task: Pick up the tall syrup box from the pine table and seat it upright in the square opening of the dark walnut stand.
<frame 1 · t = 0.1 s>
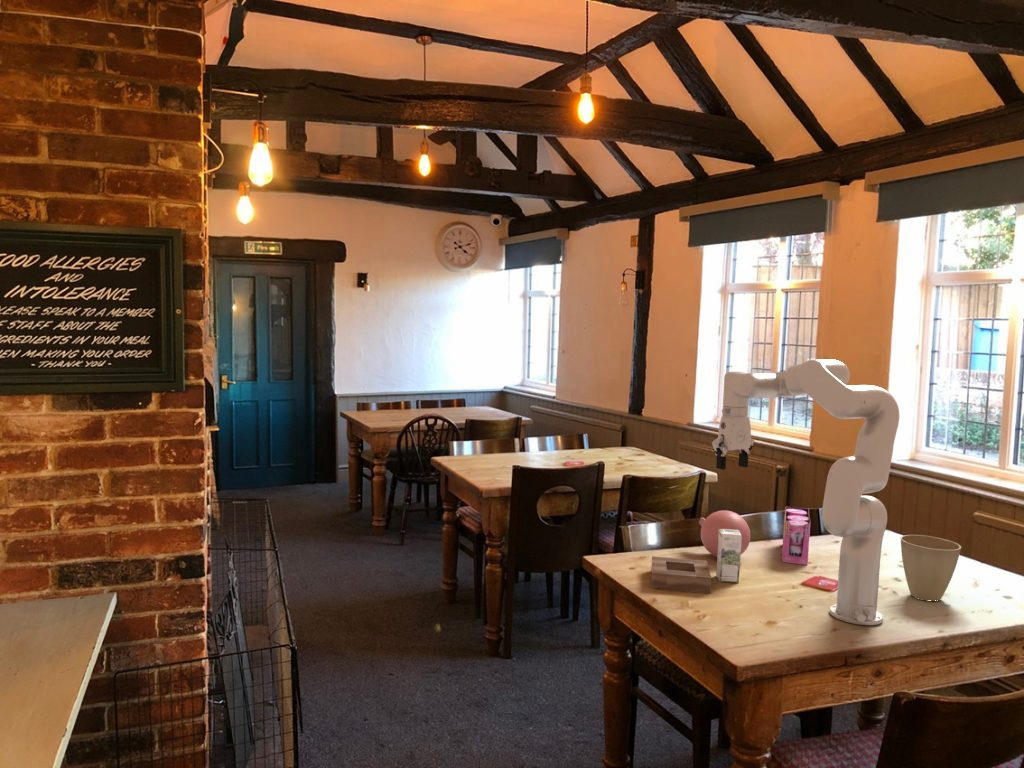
hand: (732, 467, 235), 31 cm above the table, tool pointing down, fingers open, 9 cm apart
syrup box: (727, 580, 226), on the table
balloon: (719, 556, 249), on the table
walnut stand: (679, 581, 222), on the table
gum box: (794, 555, 254), on the table
plant pot: (926, 598, 215), on the table
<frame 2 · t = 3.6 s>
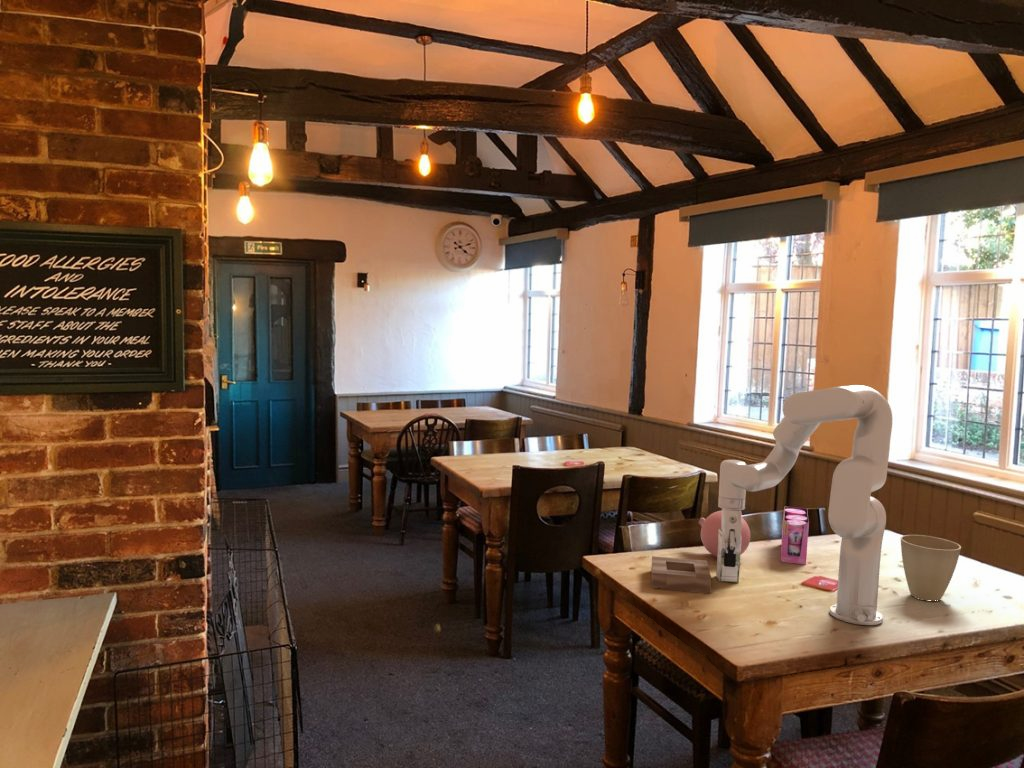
hand: (728, 562, 225), 5 cm above the table, tool pointing down, fingers closed on syrup box, 6 cm apart
syrup box: (727, 580, 226), on the table, touching gripper
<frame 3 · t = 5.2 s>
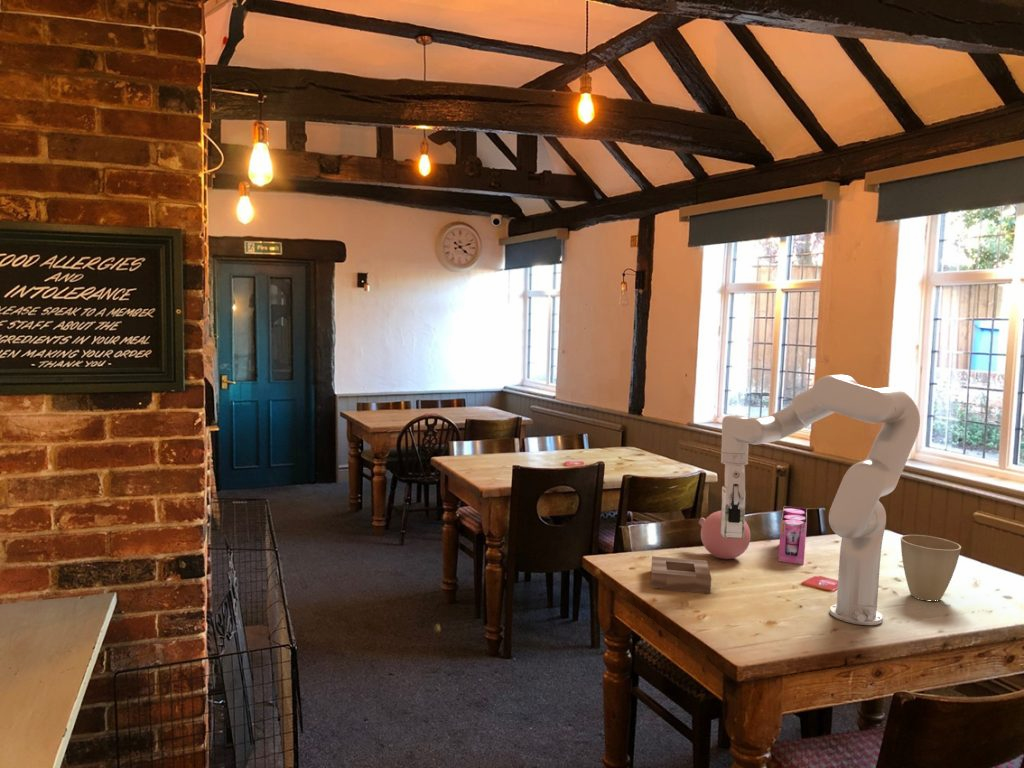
hand: (732, 519, 224), 18 cm above the table, tool pointing down, fingers closed on syrup box, 6 cm apart
syrup box: (732, 537, 224), point 13 cm above the table, touching gripper
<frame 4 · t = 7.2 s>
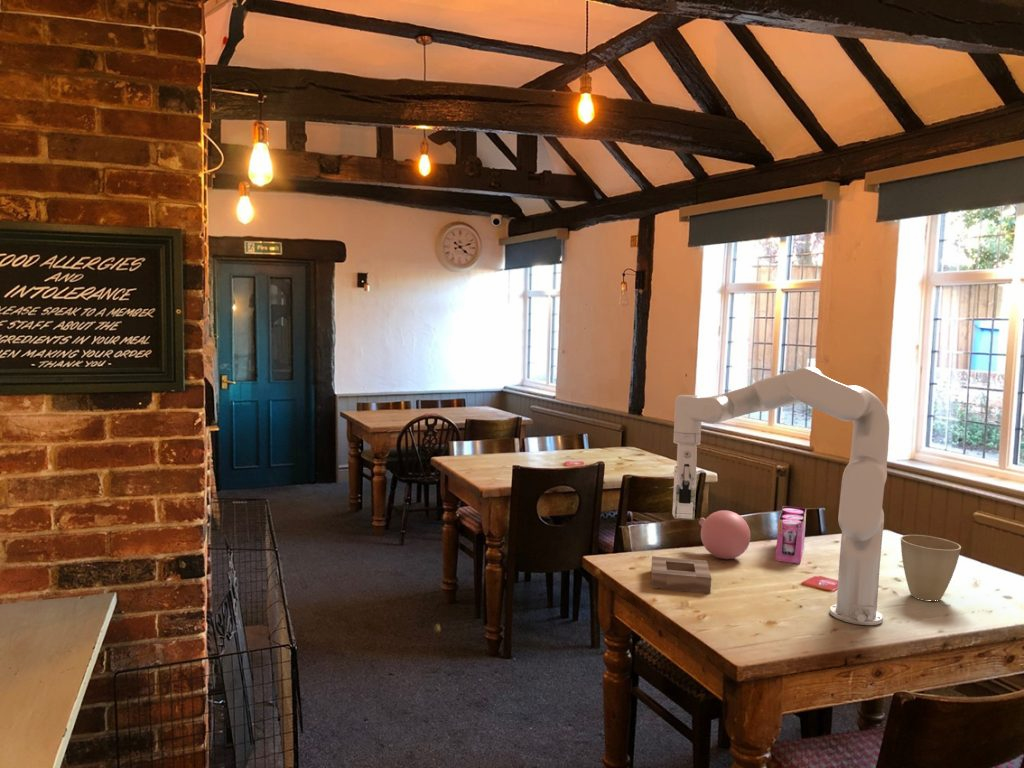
hand: (684, 499, 220), 24 cm above the table, tool pointing down, fingers closed on syrup box, 6 cm apart
syrup box: (683, 518, 221), point 19 cm above the table, touching gripper
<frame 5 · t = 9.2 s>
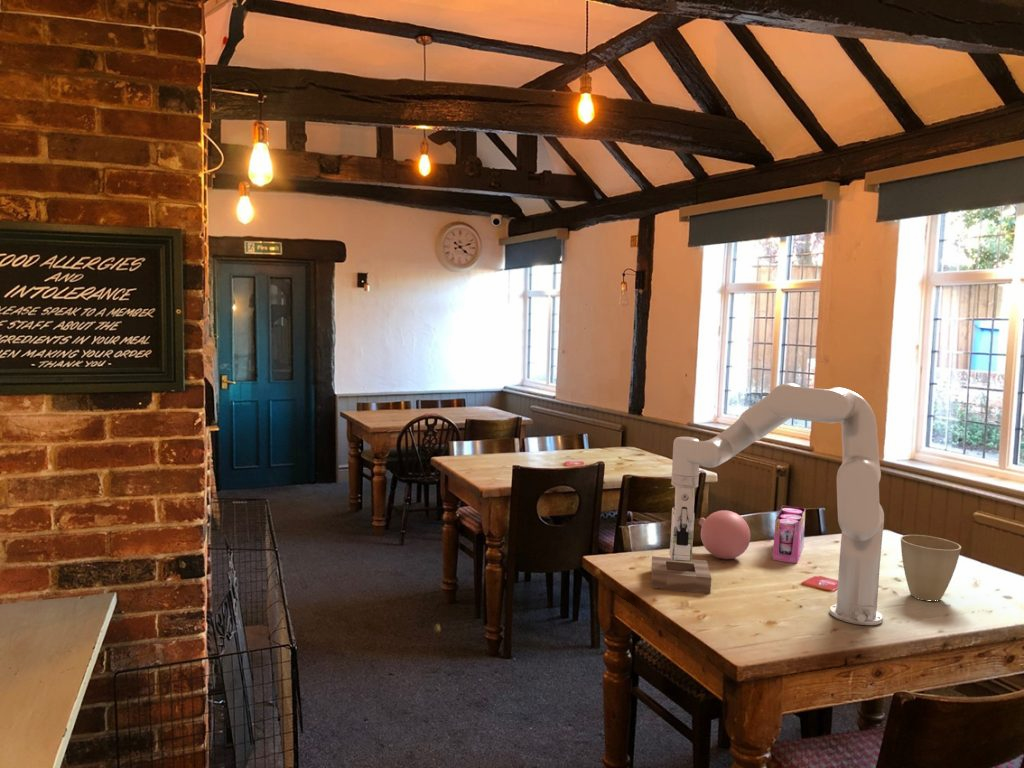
hand: (681, 541, 221), 12 cm above the table, tool pointing down, fingers closed on syrup box, 6 cm apart
syrup box: (680, 559, 222), point 7 cm above the table, touching gripper
when the fingers open (6 cm above the table, at t = 11.1 s): syrup box drops 1 cm, resting in walnut stand.
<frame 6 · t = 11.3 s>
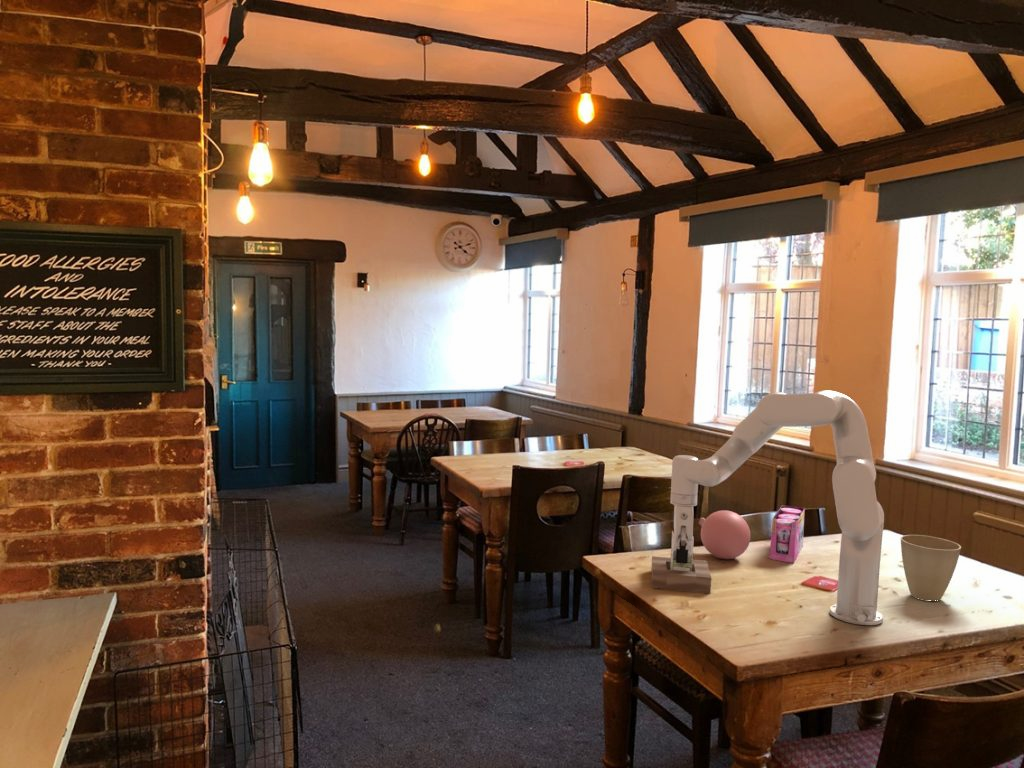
hand: (680, 558, 221), 7 cm above the table, tool pointing down, fingers open, 8 cm apart
syrup box: (680, 582, 222), resting in walnut stand
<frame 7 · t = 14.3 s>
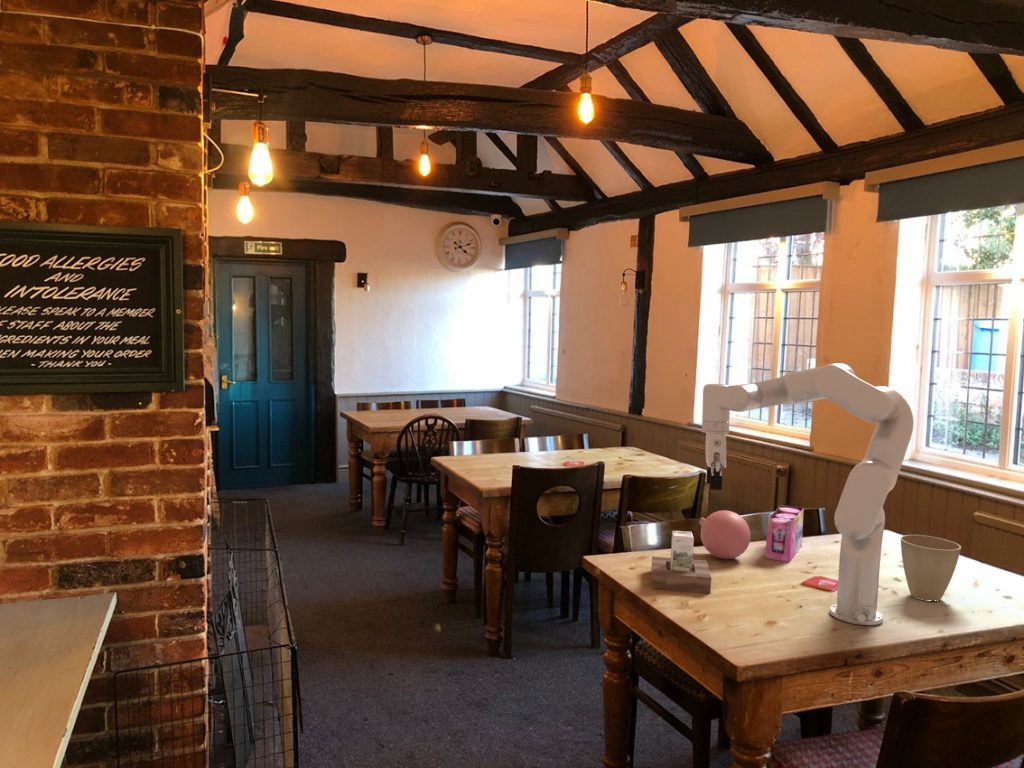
hand: (713, 486, 220), 28 cm above the table, tool pointing down, fingers open, 9 cm apart
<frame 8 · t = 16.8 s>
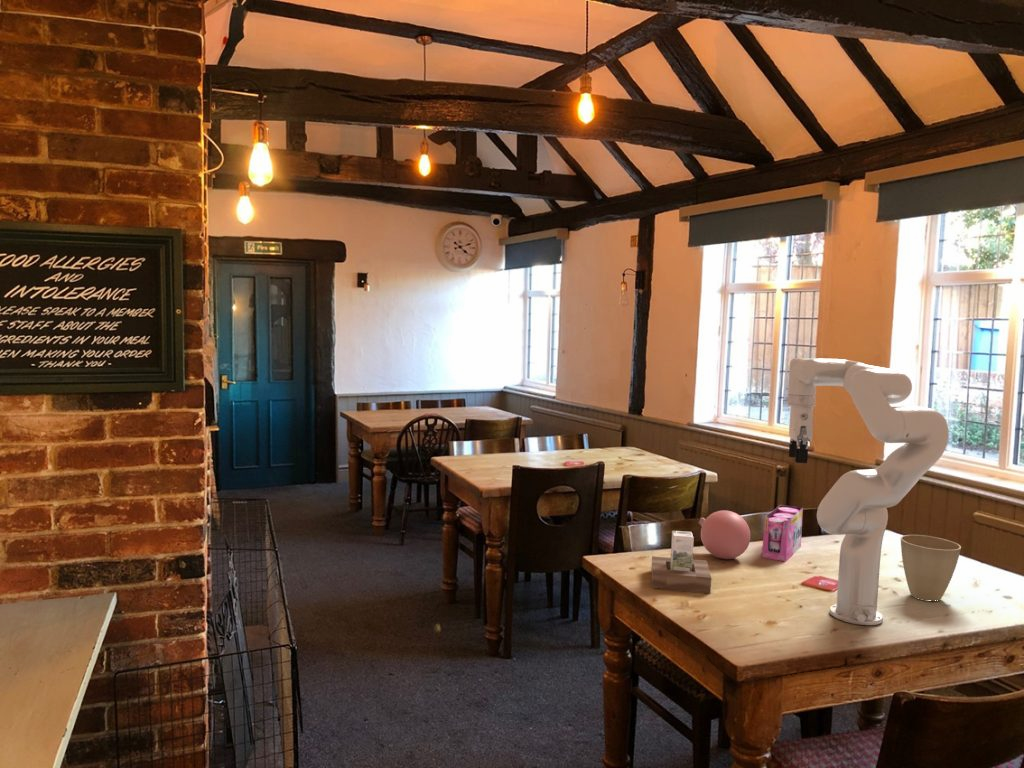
hand: (797, 459, 222), 36 cm above the table, tool pointing down, fingers open, 9 cm apart
at the end: syrup box 0.4 cm off-centre on the walnut stand, point 0.0 cm above the walnut stand's base; syrup box tilted 0°; the gripper is holding nothing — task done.
